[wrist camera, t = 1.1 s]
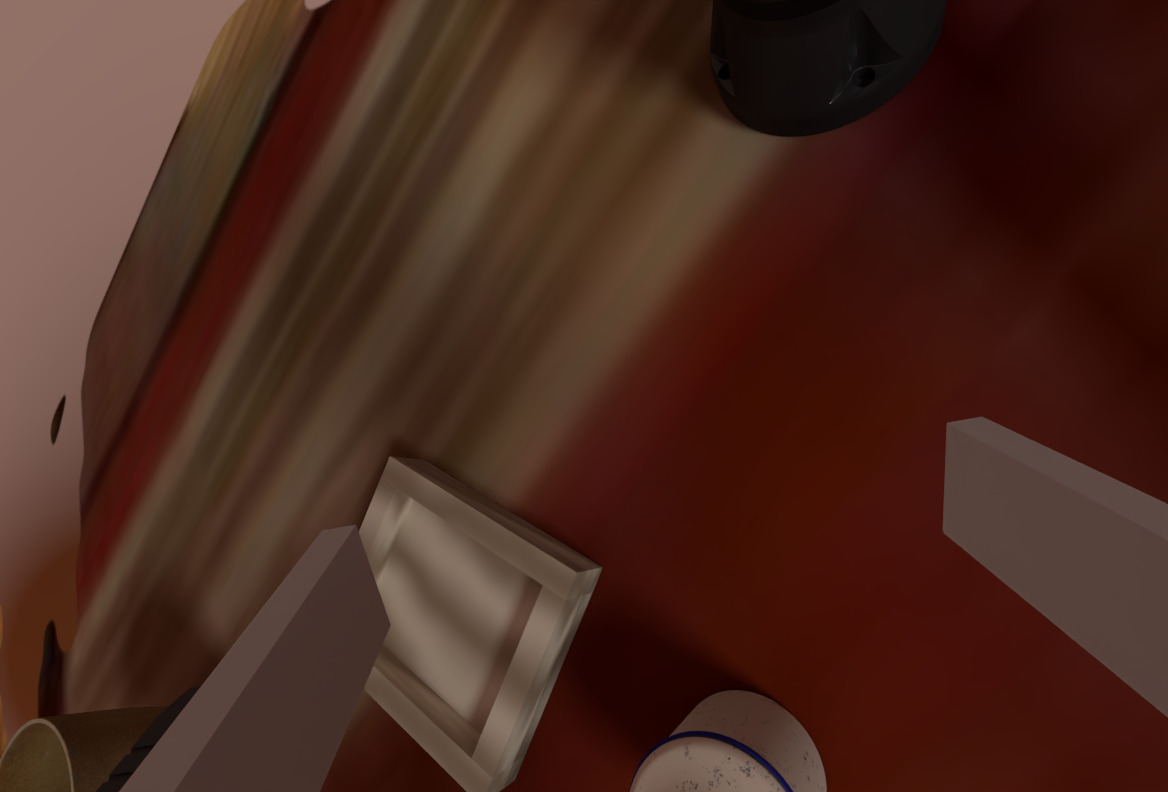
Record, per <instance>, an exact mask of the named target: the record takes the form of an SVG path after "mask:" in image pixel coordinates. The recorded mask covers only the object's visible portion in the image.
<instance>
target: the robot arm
mask: <svg viewBox="0 0 1168 792" xmlns="http://www.w3.org/2000/svg"><path fill="white" fill-rule="evenodd" d="M946 3H947V0H713V11H712V26H711V41H710V59H711V67H712V72H713V75H714V78H715V81H716V84H717V86H718V89H719V92H720V95H721V97H722V99H723V101H724V103H725V105H726V106H727V108H728V109H729V110H730V111H731V113H732V114H733V115H734V116H735V117H736V118H738V119H739V120H740V121H741V122H743V123H745V124H746V125H748V126H750V127H752V128H754V129H756V130H759V131H762V132H765V133H770V134H775V135H783V136H801V135H810V134H816V133H821V132H825V131H829V130H833V129H836V128H839V127H842V126H844V125H847V124H849V123H852V122H854V121H856V120H858V119H860V118H862V117H864V116H866V115H868V114H869V113H871V112H873V111H874V110H876V109H878V108H879V107H881V106H882V105H884V104H885V103H886V102H888V101H889V100H890V99H892V98H893V97H894V96H895V95H896V94H898V93H899V92H900V91H901V90H902V89H903V88H904V87H905V86H906V85H907V84H908V83H909V82H910V81H911V80H912V79H913V78H914V77H915V75H916V74H917V73H918V72H919V71H920V69H921V68H922V67H923V65H924V64H925V62H926V61H927V59H928V58H929V56H930V55H931V53H932V51H933V49H934V47H935V45H936V43H937V41H938V38H939V36H940V33H941V30H942V26H943V22H944V17H945V10H946ZM943 533H945V534H946V535H947V536H948V537H949V538H951V539H952V540H953V541H954V542H955V543H957V544H958V545H959V546H960V547H962V548H963V549H964V550H965V551H966V552H968V553H969V554H970V555H971V556H972V557H974V558H975V559H976V560H977V561H979V562H980V563H981V564H982V565H983V566H985V567H986V568H987V569H988V570H989V571H991V572H992V573H993V574H994V575H996V576H997V577H998V578H999V579H1000V580H1002V581H1003V582H1004V583H1005V584H1006V585H1008V586H1009V587H1010V588H1011V589H1013V590H1014V591H1015V592H1016V593H1017V594H1019V595H1020V596H1021V597H1022V598H1023V599H1025V600H1026V601H1027V602H1028V603H1030V604H1031V605H1032V606H1033V607H1034V608H1036V609H1037V610H1038V611H1039V612H1040V613H1042V614H1043V615H1044V616H1045V617H1047V618H1048V619H1049V620H1050V621H1051V622H1053V623H1054V624H1055V625H1056V626H1057V627H1059V628H1060V629H1061V630H1062V631H1064V632H1065V633H1066V634H1067V635H1068V636H1070V637H1071V638H1072V639H1073V640H1074V641H1076V642H1077V643H1078V644H1079V645H1081V646H1082V647H1083V648H1084V649H1085V650H1087V651H1088V652H1089V653H1090V654H1091V655H1093V656H1094V657H1095V658H1096V659H1098V660H1099V661H1100V662H1101V663H1102V664H1104V665H1105V666H1106V667H1107V668H1108V669H1110V670H1111V671H1112V672H1113V673H1115V674H1116V675H1117V676H1118V677H1119V678H1121V679H1122V680H1123V681H1124V682H1125V683H1127V684H1128V685H1129V686H1130V687H1132V688H1133V689H1134V690H1135V691H1136V692H1138V693H1139V694H1140V695H1141V696H1142V697H1144V698H1145V699H1146V700H1147V701H1149V702H1150V703H1151V704H1152V705H1153V706H1155V707H1156V708H1157V709H1158V710H1159V711H1161V712H1162V713H1163V714H1164V715H1166V716H1167V717H1168V504H1166V503H1164V502H1162V501H1160V500H1158V499H1156V498H1154V497H1152V496H1149V495H1147V494H1145V493H1143V492H1141V491H1139V490H1137V489H1135V488H1132V487H1130V486H1128V485H1126V484H1124V483H1122V482H1120V481H1118V480H1115V479H1113V478H1111V477H1109V476H1107V475H1105V474H1103V473H1101V472H1098V471H1096V470H1094V469H1092V468H1090V467H1088V466H1086V465H1084V464H1081V463H1079V462H1077V461H1075V460H1073V459H1071V458H1069V457H1067V456H1064V455H1062V454H1060V453H1058V452H1056V451H1054V450H1052V449H1050V448H1047V447H1045V446H1043V445H1041V444H1039V443H1037V442H1035V441H1033V440H1030V439H1028V438H1026V437H1024V436H1022V435H1020V434H1018V433H1016V432H1013V431H1011V430H1009V429H1007V428H1005V427H1003V426H1001V425H999V424H996V423H994V422H992V421H990V420H988V419H986V418H984V417H978V418H972V419H967V420H961V421H955V422H949V423H947V433H946V460H945V487H944V514H943ZM390 626H391V624H390V621H389V618H388V615H387V613H386V610H385V607H384V604H383V601H382V598H381V595H380V592H379V589H378V587H377V584H376V581H375V578H374V575H373V572H372V569H371V566H370V563H369V561H368V558H367V555H366V552H365V549H364V546H363V543H362V540H361V537H360V535H359V532H358V529H357V526H356V525H351V526H346V527H340V528H334V529H328V530H322V532H321V533H320V534H319V535H318V537H317V538H316V539H315V541H314V542H313V543H312V544H311V546H310V547H309V548H308V550H307V551H306V552H305V553H304V555H303V556H302V557H301V559H300V560H299V561H298V562H297V564H296V565H295V566H294V568H293V569H292V570H291V571H290V573H289V574H288V575H287V577H286V578H285V579H284V580H283V582H282V583H281V584H280V586H279V587H278V588H277V589H276V591H275V592H274V593H273V595H272V596H271V597H270V598H269V600H268V601H267V602H266V604H265V605H264V606H263V607H262V609H261V610H260V611H259V613H258V614H257V615H256V616H255V618H254V619H253V620H252V622H251V623H250V624H249V625H248V627H247V628H246V629H245V631H244V632H243V633H242V634H241V636H240V637H239V638H238V640H237V641H236V642H235V643H234V645H233V646H232V647H231V649H230V650H229V651H228V652H227V654H226V655H225V656H224V658H223V659H222V660H221V661H220V663H219V664H218V665H217V667H216V668H215V669H214V670H213V672H212V673H211V674H210V676H209V677H208V678H207V679H206V681H205V682H204V683H203V685H202V686H200V687H194V688H190V689H189V690H188V691H187V692H185V693H184V694H183V695H182V696H181V697H180V698H178V699H177V700H176V701H175V702H174V703H172V704H171V705H170V706H169V707H168V708H167V709H165V710H164V711H163V712H162V713H161V714H160V715H158V716H157V717H156V718H155V720H154V721H153V722H152V723H151V725H150V726H149V727H148V728H147V729H146V731H145V732H144V733H143V734H142V736H141V737H140V738H139V739H138V740H137V742H136V743H135V744H134V745H133V747H132V748H131V753H130V754H128V755H125V756H124V758H123V759H122V760H121V761H120V762H119V764H118V765H117V766H116V767H115V769H114V770H113V771H112V772H111V773H110V775H109V780H108V782H104V783H102V784H101V786H100V787H99V788H98V789H97V790H96V792H320V790H321V787H322V785H323V783H324V780H325V778H326V776H327V773H328V771H329V768H330V766H331V764H332V761H333V759H334V757H335V754H336V752H337V750H338V747H339V745H340V743H341V740H342V738H343V736H344V733H345V731H346V729H347V726H348V724H349V722H350V719H351V717H352V715H353V712H354V710H355V708H356V705H357V703H358V701H359V698H360V696H361V694H362V691H363V689H364V687H365V684H366V682H367V680H368V677H369V675H370V673H371V670H372V668H373V666H374V663H375V661H376V659H377V656H378V654H379V652H380V649H381V647H382V645H383V642H384V640H385V637H386V635H387V633H388V630H389V628H390Z"/></svg>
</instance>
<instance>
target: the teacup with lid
mask: <svg viewBox="0 0 1168 792" xmlns="http://www.w3.org/2000/svg"><path fill="white" fill-rule="evenodd" d="M629 792H826V778H825V773H824V768H823V765H822V761H821V759H820V756H819V753H818V751H817V749H816V747H815V745H814V743H813V741H812V740H811V738H810V736H809V735H808V733H807V732H806V730H805V729H804V728H803V727H802V725H801V724H800V723H799V722H798V721H797V720H796V719H795V717H794V716H792V715H791V714H790V713H789V712H788V711H787V710H786V709H784V708H783V707H782V706H780V705H779V704H777V703H776V702H774V701H772V700H770V699H769V698H766V697H764V696H762V695H759V694H756V693H753V692H748V691H742V690H729V691H723V692H719V693H716V694H713V695H711V696H709V697H707V698H706V699H704V700H703V701H702V702H700V703H699V704H698V705H697V706H696V707H695V708H694V709H693V710H692V711H691V713H690V714H689V715H688V716H687V717H686V718H685V719H684V720H683V722H682V723H681V724H680V725H679V726H678V727H677V728H676V729H675V731H674V732H673V733H672V734H671V735H670V736H669V737H668V738H665V739H664V740H662V741H661V742H659V743H658V744H656V745H655V746H654V747H653V748H652V749H651V750H650V751H649V752H648V753H647V754H646V755H645V757H644V758H643V759H642V761H641V763H640V764H639V766H638V768H637V770H636V772H635V774H634V777H633V780H632V783H631V787H630V791H629Z"/></svg>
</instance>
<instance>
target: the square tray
mask: <svg viewBox="0 0 1168 792" xmlns="http://www.w3.org/2000/svg"><path fill="white" fill-rule="evenodd" d="M359 535H360V537H361V540H362V543H363V546H364V549H365V552H366V555H367V558H368V561H369V563H370V566H371V569H372V572H373V575H374V578H375V581H376V584H377V587H378V589H379V592H380V595H381V598H382V601H383V604H384V607H385V610H386V613H387V615H388V618H389V621H390V624H391V626H390V628H389V630H388V633H387V635H386V637H385V640H384V642H383V645H382V647H381V649H380V652H379V654H378V656H377V659H376V661H375V663H374V666H373V668H372V670H371V673H370V675H369V677H368V680H367V682H366V684H365V687H364V690H365V691H366V692H367V693H368V694H369V695H370V696H371V697H372V698H373V699H374V700H375V701H376V702H377V703H378V704H379V705H380V706H381V707H382V708H383V709H384V710H385V711H386V712H387V713H388V714H389V715H390V716H391V717H392V718H393V719H394V720H395V721H396V722H397V723H398V724H399V725H400V726H401V727H402V728H403V729H404V730H405V731H406V732H407V733H408V734H409V735H410V736H411V737H412V738H413V739H415V740H416V741H417V742H418V743H419V744H420V745H421V746H422V747H423V748H424V749H425V750H426V751H427V752H428V753H429V754H430V755H431V756H432V757H433V758H434V759H435V760H436V761H437V762H438V763H439V764H440V765H441V766H442V767H443V768H444V769H445V770H446V771H447V772H448V773H449V774H450V775H451V776H452V777H453V778H454V779H455V780H456V781H457V782H458V783H459V784H460V785H461V786H462V787H463V788H464V789H465V790H466V791H467V792H499V791H501V790H502V789H503V788H505V787H506V786H507V785H509V784H510V783H511V782H513V781H514V780H515V778H516V776H517V773H518V771H519V768H520V766H521V764H522V761H523V759H524V756H525V754H526V752H527V749H528V747H529V744H530V742H531V739H532V737H533V735H534V732H535V730H536V727H537V725H538V723H539V720H540V718H541V715H542V713H543V710H544V708H545V706H546V703H547V701H548V698H549V696H550V694H551V691H552V689H553V686H554V684H555V681H556V679H557V677H558V674H559V672H560V669H561V667H562V665H563V662H564V660H565V657H566V655H567V652H568V650H569V648H570V645H571V643H572V640H573V638H574V636H575V633H576V631H577V628H578V626H579V623H580V621H581V619H582V616H583V614H584V611H585V609H586V607H587V604H588V602H589V599H590V597H591V594H592V592H593V590H594V587H595V585H596V582H597V580H598V578H599V575H600V573H601V570H602V568H603V567H602V566H600V565H598V564H597V563H595V562H593V561H592V560H590V559H588V558H587V557H585V556H583V555H582V554H580V553H578V552H577V551H575V550H573V549H571V548H570V547H568V546H566V545H565V544H563V543H561V542H560V541H558V540H556V539H555V538H553V537H551V536H550V535H548V534H546V533H545V532H543V531H541V530H540V529H538V528H536V527H535V526H533V525H531V524H530V523H528V522H526V521H525V520H523V519H521V518H520V517H518V516H516V515H515V514H513V513H511V512H510V511H508V510H506V509H505V508H503V507H501V506H500V505H498V504H496V503H495V502H493V501H491V500H490V499H488V498H486V497H485V496H483V495H481V494H480V493H478V492H476V491H475V490H473V489H471V488H470V487H468V486H466V485H465V484H463V483H461V482H460V481H458V480H456V479H455V478H453V477H451V476H450V475H448V474H446V473H445V472H443V471H441V470H440V469H438V468H436V467H435V466H433V465H431V464H430V463H428V462H426V461H425V460H421V459H411V458H402V457H393V456H390V457H389V459H388V462H387V464H386V467H385V469H384V472H383V474H382V477H381V479H380V481H379V484H378V486H377V489H376V491H375V494H374V496H373V499H372V501H371V503H370V506H369V508H368V511H367V513H366V516H365V518H364V521H363V523H362V525H361V528H360V530H359Z"/></svg>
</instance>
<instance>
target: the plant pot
mask: <svg viewBox="0 0 1168 792" xmlns="http://www.w3.org/2000/svg"><path fill="white" fill-rule="evenodd" d="M167 708H168V707H141V708H124V709H112V710H102V711H93V712H84V713H75V714H67V715H59V716H51V717H44V718H37V719H33V720H30V721H28V722H27V723H26V724H24V725H23V726H22V727H21V728H20V729H19V730H18V731H17V732H16V733H15V735H14V736H13V738H12V740H11V741H10V742H9V744H8V745H7V747H6V749H5V751H4V753H3V755H2V757H1V760H0V792H96V790H97V789H98V788H99V787H100V786H101V784H102V783H104V782H108V780H109V775H110V773H111V772H112V771H113V770H114V769H115V767H116V766H117V765H118V764H119V762H120V761H121V760H122V759H123V758H124V756H125V755H128V754H130V753H131V748H132V747H133V745H134V744H135V743H136V742H137V740H138V739H139V738H140V737H141V736H142V734H143V733H144V732H145V731H146V729H147V728H148V727H149V726H150V725H151V723H152V722H153V721H154V720H155V718H156V717H157V716H158V715H160V714H161V713H162V712H163V711H164V710H165V709H167Z"/></svg>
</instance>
